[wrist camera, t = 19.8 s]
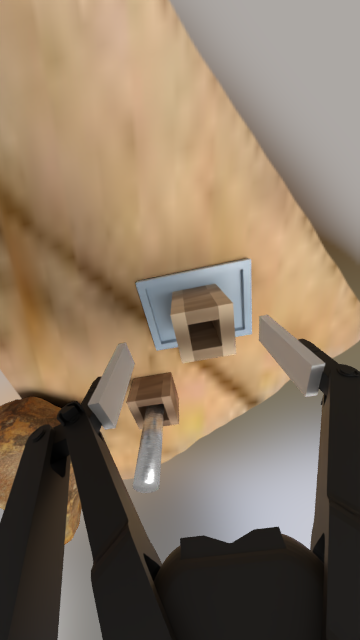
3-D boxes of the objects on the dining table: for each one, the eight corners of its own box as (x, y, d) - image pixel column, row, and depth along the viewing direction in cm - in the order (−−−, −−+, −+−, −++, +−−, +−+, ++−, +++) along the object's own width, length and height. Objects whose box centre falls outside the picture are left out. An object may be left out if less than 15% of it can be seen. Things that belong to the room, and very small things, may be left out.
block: (172, 291, 23) (170, 314, 16) (215, 283, 23) (233, 303, 15) (180, 328, 26) (182, 363, 18) (219, 321, 25) (236, 354, 18)
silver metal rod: (147, 385, 31) (128, 482, 18) (162, 381, 31) (154, 477, 18) (152, 396, 32) (138, 494, 20) (167, 393, 32) (162, 490, 19)
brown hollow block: (133, 378, 30) (126, 402, 26) (171, 372, 30) (170, 395, 25) (144, 404, 33) (139, 429, 29) (178, 398, 33) (179, 424, 28)
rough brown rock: (141, 426, 37) (121, 535, 23) (93, 453, 41) (51, 558, 27) (46, 362, 29) (-70, 470, 15) (-2, 404, 33) (-126, 518, 19)
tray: (137, 280, 23) (135, 282, 22) (247, 258, 22) (251, 259, 21) (157, 346, 27) (156, 350, 26) (248, 330, 26) (251, 333, 25)
